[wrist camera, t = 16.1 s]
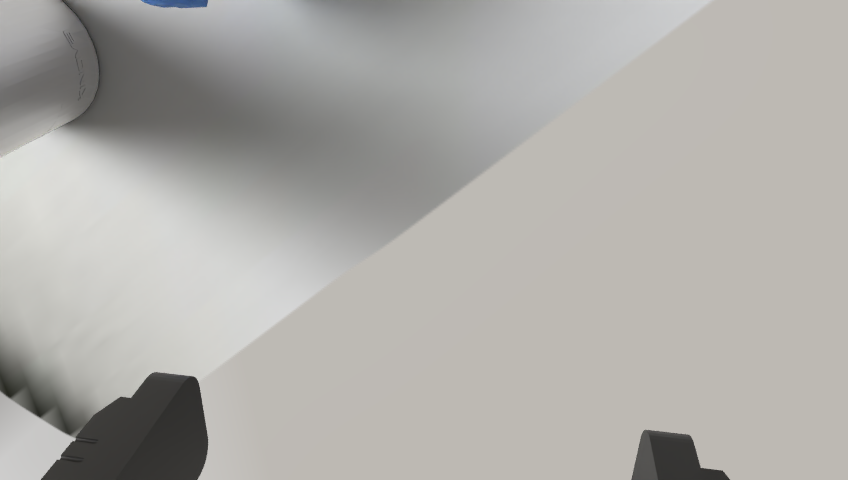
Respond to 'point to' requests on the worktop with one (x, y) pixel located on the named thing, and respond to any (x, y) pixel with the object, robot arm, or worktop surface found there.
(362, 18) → the worktop surface
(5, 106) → the robot arm
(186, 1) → the grapes
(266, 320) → the worktop surface
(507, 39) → the worktop surface
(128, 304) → the worktop surface
